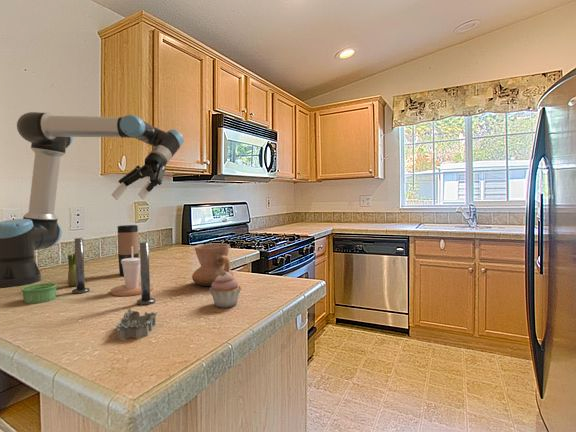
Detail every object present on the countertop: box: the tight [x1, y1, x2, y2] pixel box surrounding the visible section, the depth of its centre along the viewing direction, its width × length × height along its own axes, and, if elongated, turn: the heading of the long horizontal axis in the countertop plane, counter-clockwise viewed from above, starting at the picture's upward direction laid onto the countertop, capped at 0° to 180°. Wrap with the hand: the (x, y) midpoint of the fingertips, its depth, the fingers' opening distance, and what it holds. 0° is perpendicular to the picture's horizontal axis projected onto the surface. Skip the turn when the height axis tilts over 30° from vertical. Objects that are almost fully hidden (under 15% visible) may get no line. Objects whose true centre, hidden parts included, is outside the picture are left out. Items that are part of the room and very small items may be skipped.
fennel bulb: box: [67, 251, 76, 287], centre depth 124 cm, size 6×5×12 cm
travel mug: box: [117, 224, 140, 277], centre depth 142 cm, size 8×8×20 cm
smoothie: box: [121, 246, 141, 289], centre depth 116 cm, size 6×6×14 cm
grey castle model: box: [114, 308, 158, 340], centre depth 81 cm, size 11×8×4 cm
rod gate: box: [71, 237, 156, 306], centre depth 109 cm, size 35×5×18 cm, turn 65°
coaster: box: [110, 282, 154, 297], centre depth 117 cm, size 13×13×1 cm
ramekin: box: [21, 282, 58, 305], centre depth 107 cm, size 9×9×4 cm
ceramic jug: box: [191, 242, 234, 287], centre depth 124 cm, size 18×14×14 cm
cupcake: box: [208, 271, 242, 309], centre depth 100 cm, size 9×9×10 cm
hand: (127, 197), depth 125 cm, fingers open, 13 cm apart
